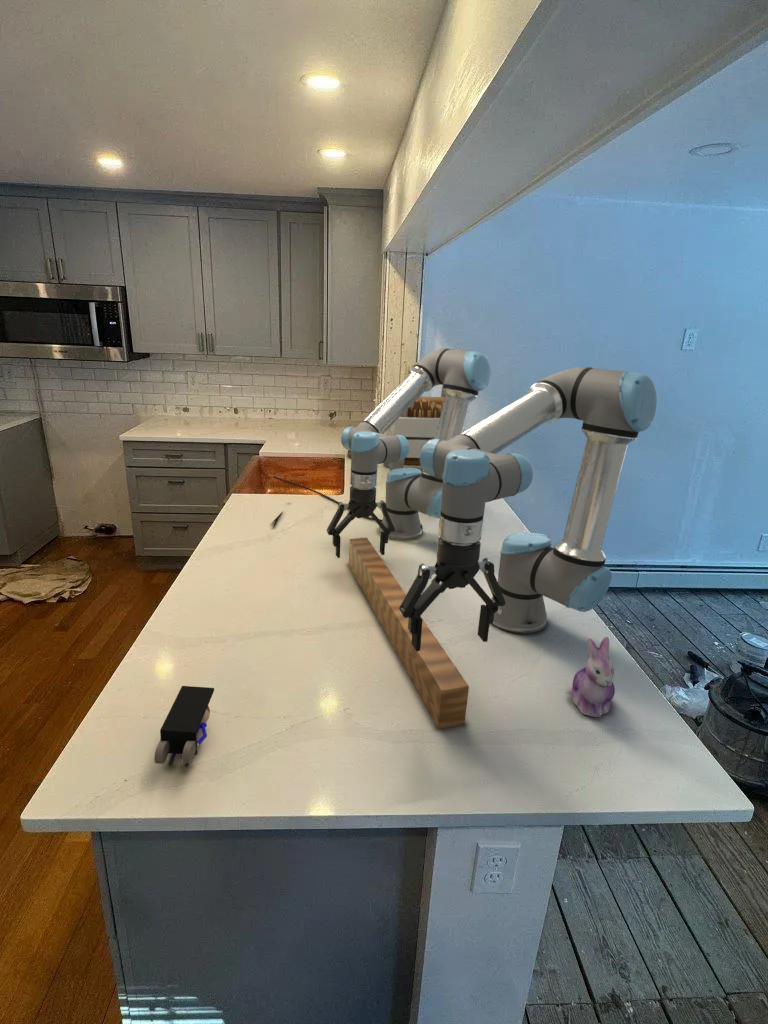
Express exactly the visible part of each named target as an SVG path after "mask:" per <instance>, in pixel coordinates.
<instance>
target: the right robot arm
mask: <svg viewBox="0 0 768 1024" xmlns="http://www.w3.org/2000/svg"><path fill="white" fill-rule="evenodd" d="M657 405H658V395H657V389H656V385H655V383H654V380H653V379H652V378H651V377H649V376H648V375H646V374H644V373H638V372H634V371H631V370H616V369H615V370H614V369H609V368H608V369H606V368H597V367H590V366H576V367H572V368H568V369H564V370H561V371H558V372H555V373H553V374H550V375H549V376H546V377H544V378H542V379H540V380H538V381H537V382H535V383H534V384H532V385H531V386H530V387H529V388H528V390H527V392H526V393H525V394H524V395H522V396H521V397H519V398H517V399H516V400H514V401H512V402H510V403H509V404H508V405H505V406H503V407H502V408H500V409H498V410H497V411H496V412H494V413H492V414H490V415H489V416H487V417H485V418H484V419H482V420H480V421H478V422H477V423H475V424H474V425H472V426H470V427H468V428H467V429H464V432H462V433H460V434H459V435H457V436H455V437H453V438H452V439H450V440H447V441H445V440H444V439H431V440H429V441H428V442H427V443H426V444H425V445H424V446H423V448H422V450H421V453H420V464H421V466H420V467H421V469H422V471H424V472H426V473H427V474H430V475H432V476H434V477H436V478H438V479H442V480H443V485H442V501H441V513H440V519H439V523H438V538H437V547H436V548H437V549H436V562H435V564H434V565H433V566H432V565H426V564H425V563H420V564H419V566H418V570H417V571H418V572H417V575H416V577H415V579H414V580H413V582H412V584H411V585H410V588H409V589H408V591H407V593H406V596H405V598H404V600H403V602H402V603H401V605H400V607H399V610H400V612H401V613H402V615H403V616H404V617H405V618H407V617H409V620H408V629H409V631H410V633H411V634H412V645H413V647H414V648H415V650H416V651H420V647H421V633H422V619H423V617H422V614H423V613H424V612H425V611H426V610H427V609H428V608H429V607H430V605H432V603H433V602H434V601H435V600H436V599H437V597H439V595H441V594H443V593H444V592H446V590H447V589H448V590H453V589H457V588H460V589H463V588H466V587H467V586H468V585H469V586H470V587H471V588H472V590H474V592H475V593H476V594H477V596H478V597H479V598H480V599H481V600H482V601H483V603H484V604H481V605H480V611H479V617H478V628H477V636H478V637H479V638H480V639H481V641H482V642H483V643H487V642H488V639H489V630H490V625H493V626H495V627H496V628H499V629H500V630H502V631H505V632H508V633H509V632H510V633H515V634H522V635H525V634H526V635H527V634H535V633H539V632H540V631H543V629H544V628H545V627H546V625H547V620H548V615H547V614H548V613H547V608H546V604H545V599H544V597H545V598H547V599H550V600H552V601H554V602H556V603H558V604H560V605H563V606H565V608H568V609H572V610H575V611H577V612H580V613H586V612H590V611H591V610H593V609H594V608H596V607H597V606H598V605H599V603H600V602H601V601H602V600H603V599H604V597H605V595H606V594H607V592H608V590H609V588H610V585H611V584H612V583H611V582H612V577H613V576H612V570H610V569H609V567H608V566H605V564H606V560H607V555H606V554H605V553H604V551H603V550H602V549H603V548H602V547H603V544H604V543H603V542H604V539H605V535H606V531H607V528H608V523H609V520H610V515H611V512H612V507H613V505H614V500H615V495H616V493H617V489H618V484H619V481H620V477H621V472H622V470H623V469H622V468H623V464H624V461H625V456H626V453H627V449H628V446H629V445H630V444H632V443H633V442H635V441H636V440H637V439H638V437H639V433H640V432H645V431H646V430H648V429H649V428H650V427H651V425H652V422H653V421H654V419H655V415H656V413H657V412H656V411H657ZM560 419H574V420H578V421H582V425H581V431H582V432H583V434H584V436H585V438H586V439H585V444H584V447H583V448H584V449H583V452H582V457H581V459H580V465H579V469H578V473H577V478H576V482H575V486H574V490H573V495H572V499H571V503H570V507H569V512H568V516H567V520H566V524H565V528H564V533H563V537H562V539H561V540H560V541H559V542H556V543H555V544H554V546H553V547H552V544H553V543H552V539H551V538H550V537H549V536H548V535H546V534H542V533H537V532H516V533H512V534H509V535H507V536H506V537H505V538H504V539H503V541H502V546H501V550H500V551H499V553H500V557H499V566H498V574H497V577H496V575H495V564H494V563H493V562H492V561H491V560H490V559H489V558H488V557H484V558H483V559H482V560H481V561H479V560H480V555H481V554H480V553H481V545H482V544H481V543H482V542H481V540H482V537H483V536H482V534H483V528H484V527H483V525H484V519H485V518H484V517H485V507H486V503H490V502H493V501H497V500H500V499H504V498H509V497H514V496H516V495H518V494H520V493H522V492H524V491H526V490H528V489H529V487H530V486H531V484H532V482H533V477H534V471H533V466H532V464H531V462H530V460H528V458H527V457H525V456H524V455H523V454H520V453H509V452H508V453H505V454H499V453H500V452H502V451H503V450H505V449H506V448H508V447H509V446H511V445H513V444H514V443H515V442H517V441H518V440H520V439H522V438H523V437H525V436H527V435H528V434H529V433H531V432H533V431H534V430H535V429H537V428H538V427H541V426H542V425H543V424H551V423H555V422H556V421H558V420H560ZM479 571H481V572H482V573H483V575H484V578H485V580H486V583H487V586H488V588H489V590H490V593H491V595H492V596H491V597H490V596H489V595H488V594H487V592H486V591H485V590H484V589H483V588H482V586H481V585H480V584H479V583H478V581H477V580H476V579H475V577H476V575H477V574H478V573H479ZM433 575H435V576H434V578H433V579H432V577H433ZM429 580H431V581H430V584H429V585H428V583H429ZM427 585H428V586H427ZM420 616H421V617H422V618H421V617H420Z"/></svg>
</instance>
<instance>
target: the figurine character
mask: <svg viewBox="0 0 768 1024" xmlns="http://www.w3.org/2000/svg"><path fill="white" fill-rule="evenodd" d="M214 692H215V687H206V686H194V685H193V686H189V685H182V686H181V687H180V689H179V691H178V693H177V695H176V697H175V698H174V701H173V704H172V705H171V707H170V709H169V712H168V714H167V716H166V718H165V719H164V721H163V723H162V726H161V728H160V729H159V733H160V740H159V742H158V743H157V745H156V748H155V751H154V757H153V758H154V763H155V764H160V765H165V763H166V762H167V759H168V757H169V755H170V757H169V759H168V762H167V767H168V768H171V767H173V765H174V762H175V759H176V757H177V755H181V762H182V764H184V767H185V768H188V767H189V766H190V764H192V763H193V762H194V760H195V756H197V755H198V748H199V746H200V744H202V742H203V741H204V740H205V739H206V738H207V737H208V734H207V729H206V728H207V727H208V723H207V722H208V721H209V719H210V716H211V710H210V707H209V705H210V702H211V700H212V697H213V694H214ZM200 729H201V732H202V735H201V736H200V737H199V738H198V735H199V731H200Z"/></svg>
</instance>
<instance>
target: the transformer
mask: <svg viewBox="0 0 768 1024" xmlns="http://www.w3.org/2000/svg"><path fill="white" fill-rule="evenodd" d="M440 393H441V394H440V396H420V397H419V398H418V399H417V400H416V401H415V402H414V403H413V404H412V405H411V406H410V407H409V408H408V409H407V410H406V411H405V412H404V413H403V414H402V415H401V417H400V418H399V419H398V420H397V421H396V422H395V423H394V424H393V425H392V426H391V427H390V428H389V429H388V430H387V431H386V432H385V435H388V436H393V435H402V436H404V437H405V438H406V439H407V441H408V443H409V453H408V455H407V457H406V458H404V459H402V460H398V461H396V462H395V461H394V462H388V463H382V464H383V466H384V467H388V468H389V471H391V470H394V469H399V468H405V466H406V467H407V466H411V467H412V466H413V467H415V466H416V467H417V466H418V467H421V464H420V453H421V450H422V448H423V446H424V445H425V444H426V443H427V442H428V441H429V440H431V439H435V436H436V432H437V427H438V423H439V419H440V415H441V411H442V407H443V403H444V399H445V394H444V392H443V390H442V389H441V392H440Z"/></svg>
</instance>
